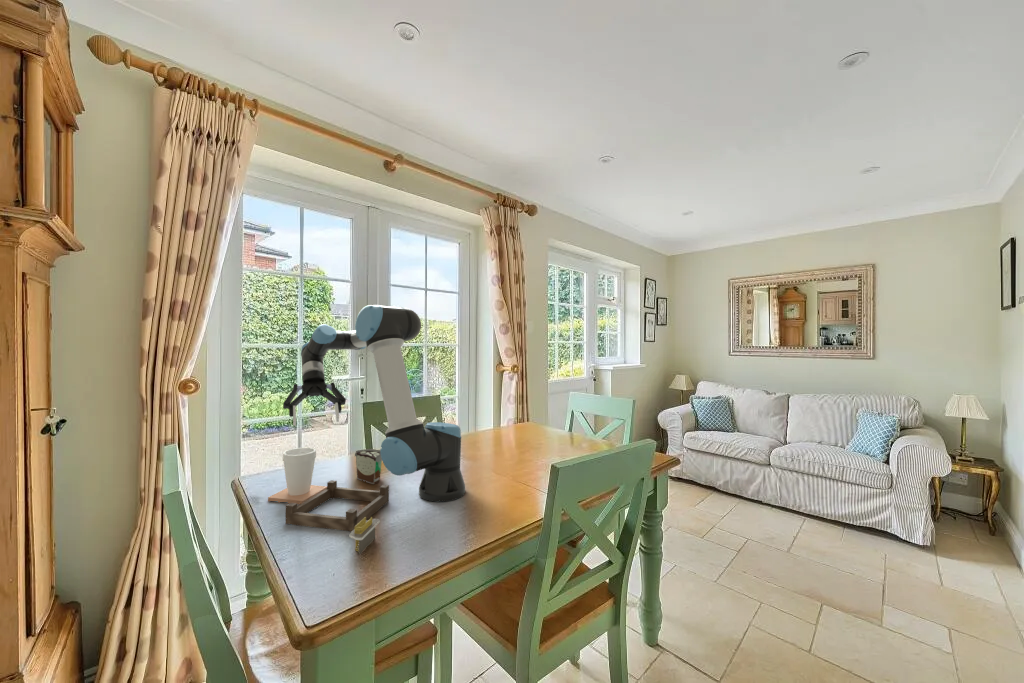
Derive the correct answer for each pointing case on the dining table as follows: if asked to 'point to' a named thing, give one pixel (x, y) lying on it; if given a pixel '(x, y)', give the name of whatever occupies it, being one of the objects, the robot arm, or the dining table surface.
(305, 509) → the frame
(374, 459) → the cake slice
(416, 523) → the dining table surface
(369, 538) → the grey yellow plug connector
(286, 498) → the terracotta tile
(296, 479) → the foam cup
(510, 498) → the dining table surface
